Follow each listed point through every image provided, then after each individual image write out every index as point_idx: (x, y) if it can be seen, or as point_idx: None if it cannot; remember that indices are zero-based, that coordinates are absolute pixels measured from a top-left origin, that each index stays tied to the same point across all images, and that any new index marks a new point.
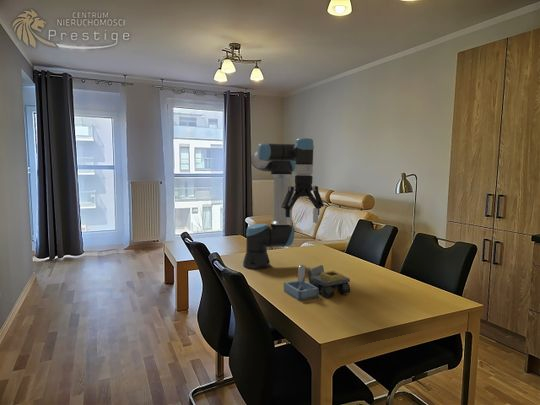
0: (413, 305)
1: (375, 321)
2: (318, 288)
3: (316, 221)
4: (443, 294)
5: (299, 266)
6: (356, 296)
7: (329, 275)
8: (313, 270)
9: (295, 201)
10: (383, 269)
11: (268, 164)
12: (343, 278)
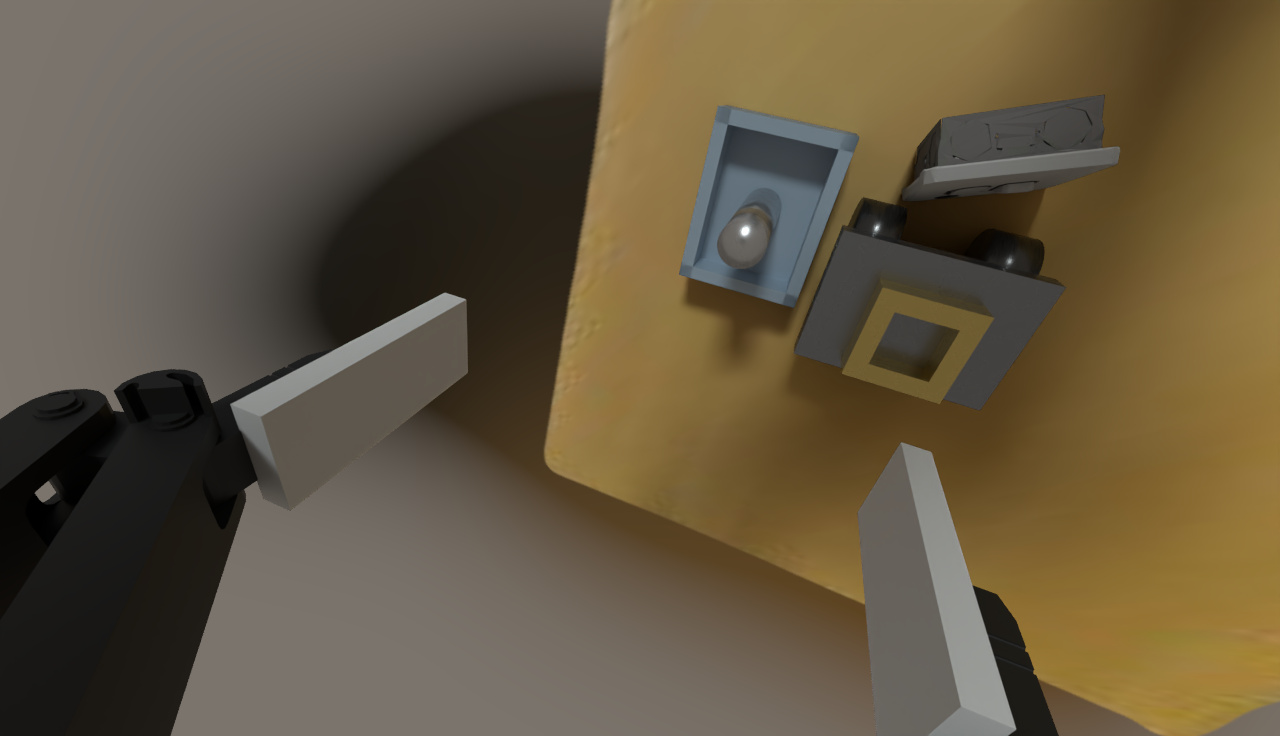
0: (998, 586)
1: (751, 525)
2: (791, 306)
3: (861, 530)
4: (1275, 664)
5: (717, 246)
6: (943, 405)
7: (866, 355)
8: (940, 185)
9: (169, 709)
10: None
11: None
12: (953, 385)
